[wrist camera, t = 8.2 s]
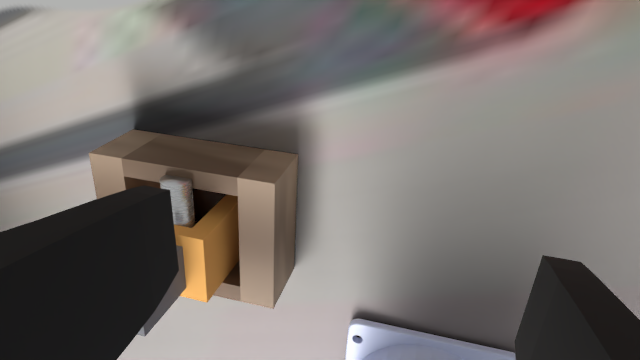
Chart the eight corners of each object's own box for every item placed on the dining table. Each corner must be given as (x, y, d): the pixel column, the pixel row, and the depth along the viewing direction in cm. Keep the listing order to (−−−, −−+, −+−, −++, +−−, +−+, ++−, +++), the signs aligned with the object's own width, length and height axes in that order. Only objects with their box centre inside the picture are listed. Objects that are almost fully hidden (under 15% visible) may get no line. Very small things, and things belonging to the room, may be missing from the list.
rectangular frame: (294, 268, 23) (266, 321, 19) (146, 238, 24) (98, 282, 21) (298, 154, 20) (267, 193, 17) (132, 129, 22) (74, 160, 18)
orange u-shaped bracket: (245, 251, 22) (168, 353, 16) (181, 237, 23) (86, 330, 17) (244, 195, 21) (160, 285, 15) (176, 183, 22) (72, 263, 16)
